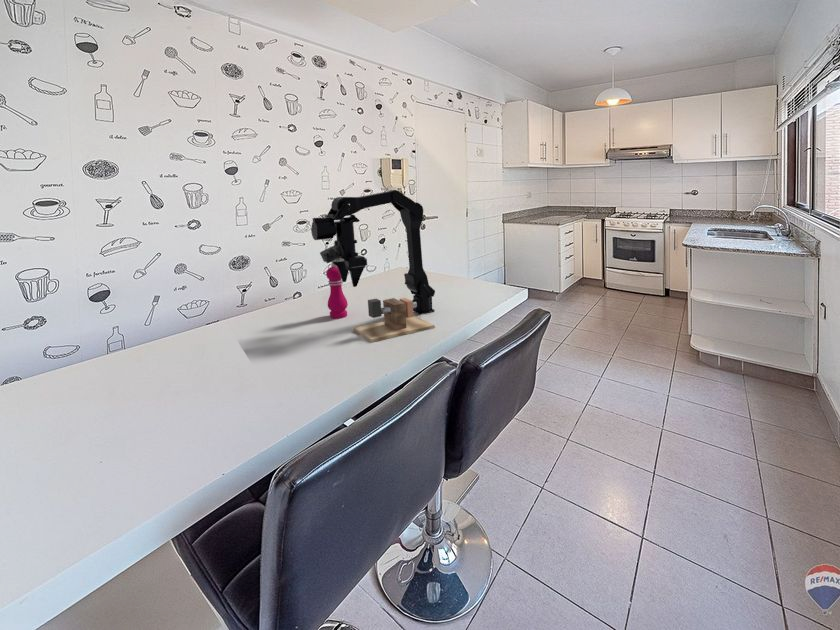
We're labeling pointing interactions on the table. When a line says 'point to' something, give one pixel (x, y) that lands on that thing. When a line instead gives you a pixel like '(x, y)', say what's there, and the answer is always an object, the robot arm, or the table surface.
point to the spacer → (408, 307)
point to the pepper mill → (336, 294)
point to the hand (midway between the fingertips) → (349, 284)
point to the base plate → (384, 332)
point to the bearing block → (395, 314)
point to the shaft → (376, 309)
